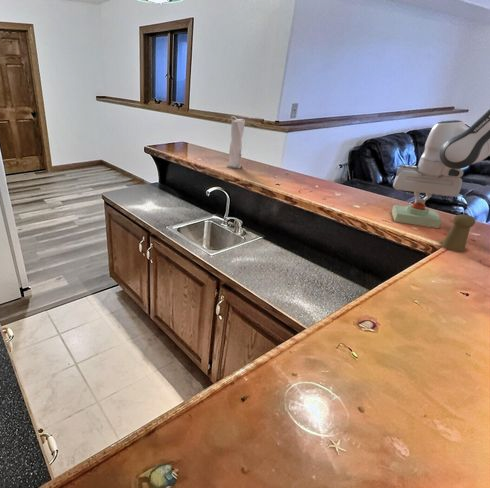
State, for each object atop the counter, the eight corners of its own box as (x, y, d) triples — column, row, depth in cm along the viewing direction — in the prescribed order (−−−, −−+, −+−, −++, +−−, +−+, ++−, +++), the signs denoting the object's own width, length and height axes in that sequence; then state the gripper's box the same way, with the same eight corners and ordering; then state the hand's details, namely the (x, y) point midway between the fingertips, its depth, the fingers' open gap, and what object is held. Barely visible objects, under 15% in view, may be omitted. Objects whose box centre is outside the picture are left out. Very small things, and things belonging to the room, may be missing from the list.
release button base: (432, 218, 136) (437, 206, 134) (438, 228, 127) (443, 215, 125) (391, 212, 141) (395, 200, 139) (394, 221, 133) (398, 209, 130)
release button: (423, 207, 133) (424, 203, 132) (425, 211, 130) (426, 206, 129) (410, 206, 135) (412, 201, 134) (412, 209, 131) (414, 205, 131)
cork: (446, 250, 112) (460, 218, 107) (438, 242, 117) (450, 211, 112) (468, 252, 110) (483, 220, 105) (458, 244, 116) (472, 213, 111)
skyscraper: (225, 167, 203) (230, 116, 191) (227, 164, 210) (232, 115, 198) (240, 168, 201) (245, 117, 188) (241, 165, 208) (247, 115, 195)
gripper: (400, 165, 127) (388, 201, 133) (469, 173, 119) (453, 210, 125) (398, 162, 132) (386, 197, 138) (464, 168, 124) (449, 205, 130)
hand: (419, 203), depth 131 cm, fingers closed
